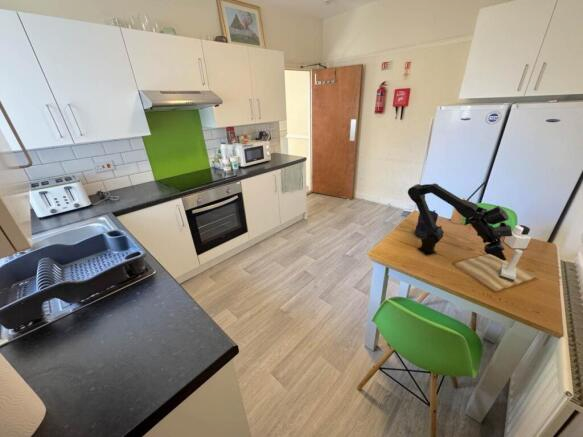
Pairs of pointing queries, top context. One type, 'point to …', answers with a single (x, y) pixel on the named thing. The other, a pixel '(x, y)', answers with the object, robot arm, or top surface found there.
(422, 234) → the storage jar
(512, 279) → the dish brush
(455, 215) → the utensil holder
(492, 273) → the chopping board
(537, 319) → the top surface
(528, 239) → the medicine bottle
